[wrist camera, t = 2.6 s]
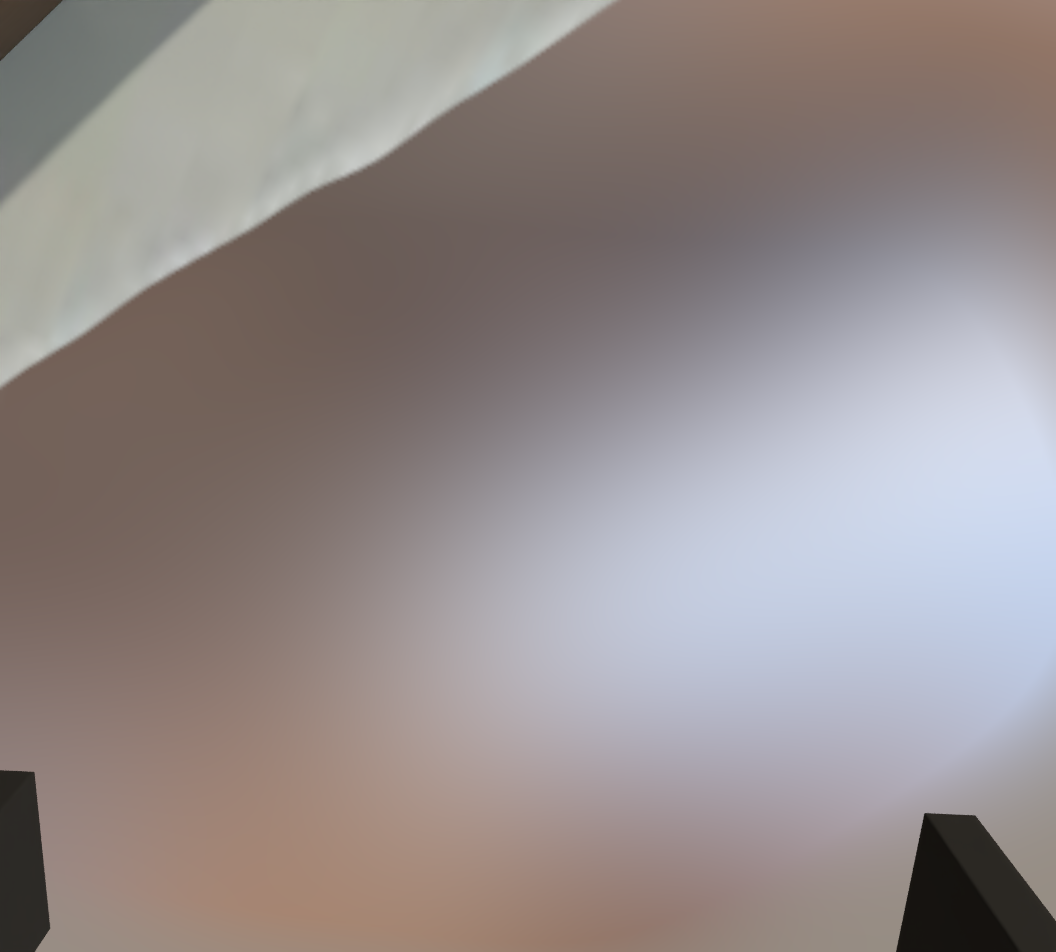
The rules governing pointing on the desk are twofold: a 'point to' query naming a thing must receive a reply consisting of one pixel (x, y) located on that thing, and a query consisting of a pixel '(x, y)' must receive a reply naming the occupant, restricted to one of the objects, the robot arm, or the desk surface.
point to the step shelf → (20, 20)
